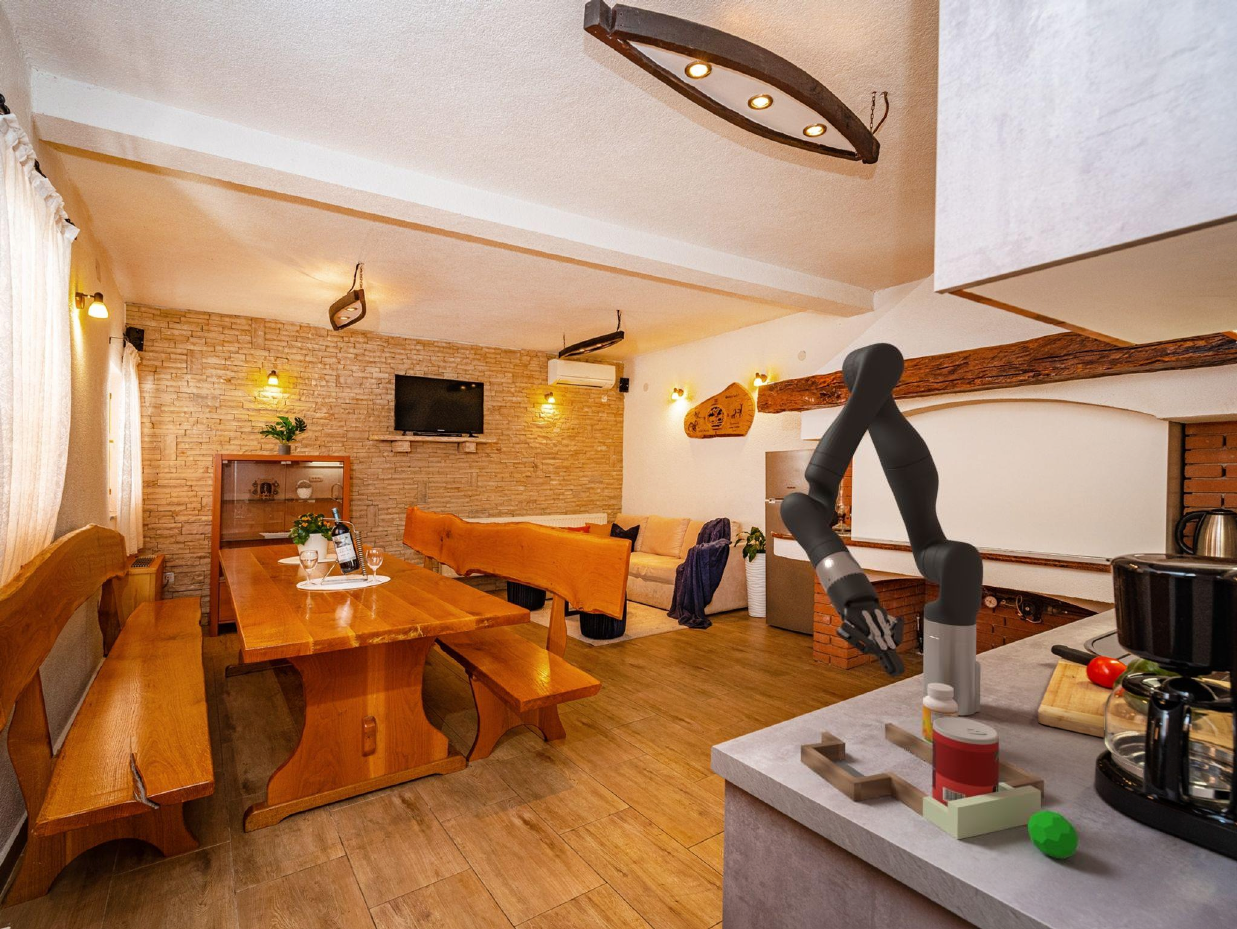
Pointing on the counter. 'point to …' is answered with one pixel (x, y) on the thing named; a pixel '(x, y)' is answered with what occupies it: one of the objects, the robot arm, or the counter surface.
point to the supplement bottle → (937, 707)
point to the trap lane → (889, 782)
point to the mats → (858, 774)
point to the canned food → (963, 759)
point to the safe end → (984, 811)
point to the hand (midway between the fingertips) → (898, 674)
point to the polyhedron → (1053, 834)
